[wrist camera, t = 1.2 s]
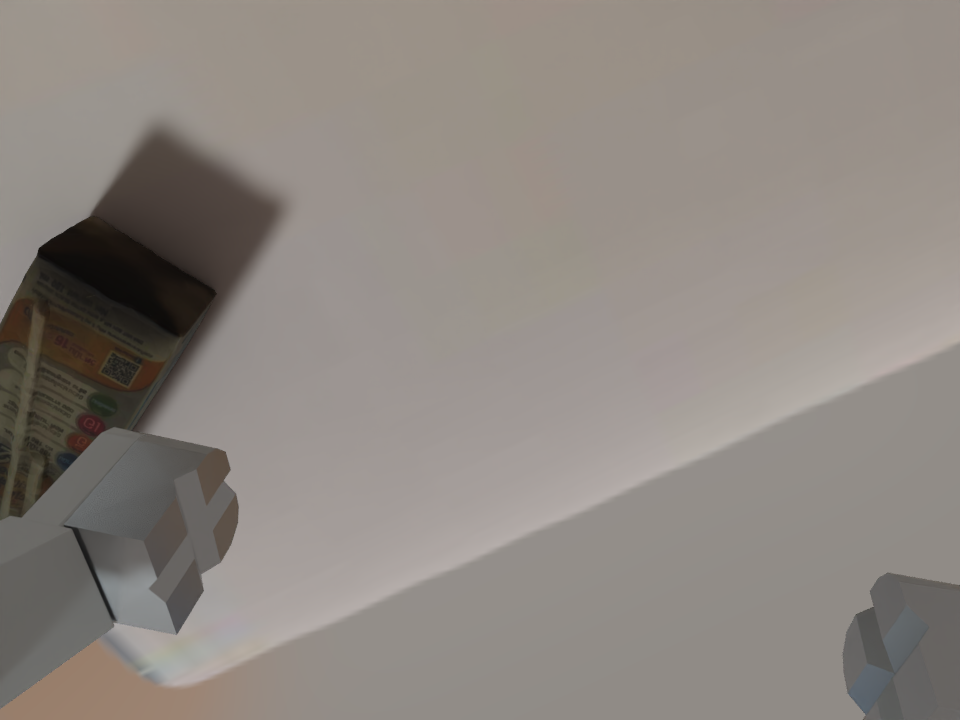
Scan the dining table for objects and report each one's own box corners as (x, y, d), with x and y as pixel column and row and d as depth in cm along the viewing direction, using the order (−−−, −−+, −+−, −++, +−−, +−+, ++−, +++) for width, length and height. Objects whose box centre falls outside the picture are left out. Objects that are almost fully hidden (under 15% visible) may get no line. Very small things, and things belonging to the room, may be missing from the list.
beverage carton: (-38, 448, 45) (-107, 518, 40) (89, 203, 39) (28, 243, 33) (86, 505, 48) (38, 578, 42) (225, 284, 41) (191, 335, 35)
